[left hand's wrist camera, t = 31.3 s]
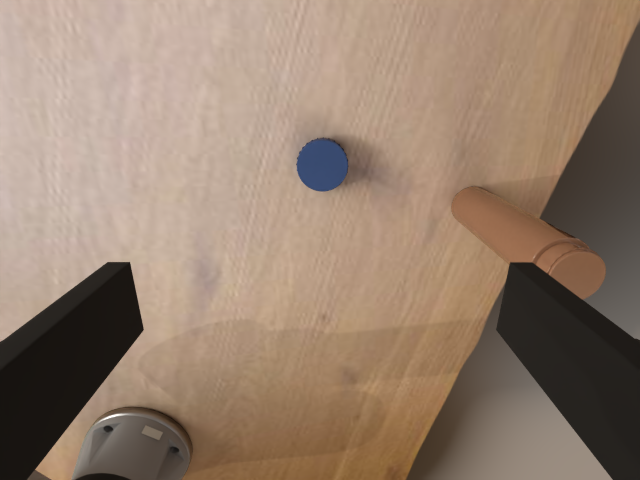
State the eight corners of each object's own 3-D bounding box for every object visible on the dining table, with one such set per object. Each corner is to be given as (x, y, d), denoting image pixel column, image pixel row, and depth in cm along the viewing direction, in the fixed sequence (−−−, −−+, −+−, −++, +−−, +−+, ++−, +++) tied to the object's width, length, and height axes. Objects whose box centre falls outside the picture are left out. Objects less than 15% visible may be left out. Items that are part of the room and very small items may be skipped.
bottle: (492, 185, 40) (619, 246, 23) (487, 223, 42) (602, 305, 25) (453, 187, 40) (550, 248, 23) (449, 224, 42) (537, 307, 25)
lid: (287, 170, 40) (286, 173, 38) (315, 127, 38) (315, 128, 36) (328, 197, 41) (329, 201, 39) (357, 156, 39) (358, 159, 37)
